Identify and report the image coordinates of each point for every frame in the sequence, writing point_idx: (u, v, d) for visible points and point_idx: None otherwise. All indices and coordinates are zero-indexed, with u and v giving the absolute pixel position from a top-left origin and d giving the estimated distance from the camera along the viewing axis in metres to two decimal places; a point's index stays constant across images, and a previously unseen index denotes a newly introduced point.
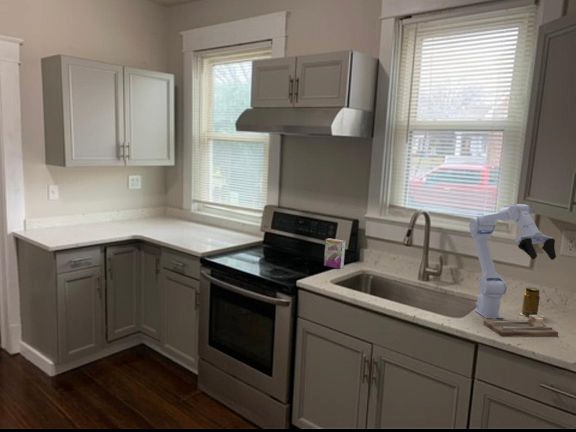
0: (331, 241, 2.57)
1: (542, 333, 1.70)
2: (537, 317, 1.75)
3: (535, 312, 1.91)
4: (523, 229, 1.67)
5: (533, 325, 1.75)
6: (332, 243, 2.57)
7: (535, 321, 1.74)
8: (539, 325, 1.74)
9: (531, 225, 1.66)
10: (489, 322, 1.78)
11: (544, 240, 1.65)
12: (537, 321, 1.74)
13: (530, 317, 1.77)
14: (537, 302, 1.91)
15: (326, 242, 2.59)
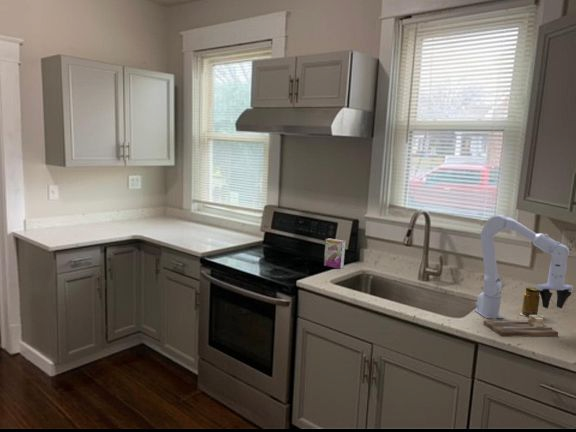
0: (331, 241, 2.57)
1: (542, 333, 1.70)
2: (537, 317, 1.75)
3: (535, 312, 1.91)
4: (551, 276, 1.74)
5: (533, 325, 1.75)
6: (332, 243, 2.57)
7: (535, 321, 1.74)
8: (539, 325, 1.74)
9: (560, 277, 1.72)
10: (489, 322, 1.78)
11: None
12: (537, 321, 1.74)
13: (530, 317, 1.77)
14: (537, 302, 1.91)
15: (326, 242, 2.59)
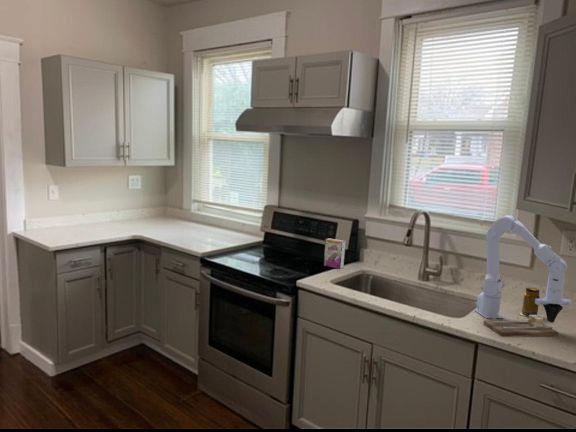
0: (331, 241, 2.57)
1: (542, 333, 1.70)
2: (537, 317, 1.75)
3: (535, 312, 1.91)
4: (549, 291, 1.74)
5: (533, 325, 1.75)
6: (332, 243, 2.57)
7: (535, 321, 1.74)
8: (539, 325, 1.74)
9: (558, 292, 1.73)
10: (489, 322, 1.78)
11: None
12: (537, 321, 1.74)
13: (530, 317, 1.77)
14: None
15: (326, 242, 2.59)
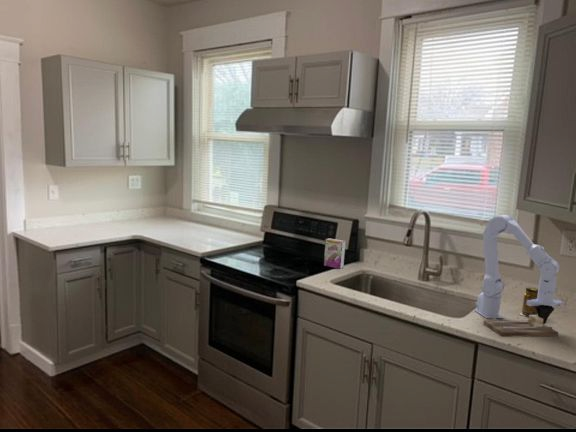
0: (331, 241, 2.57)
1: (542, 333, 1.70)
2: (537, 317, 1.75)
3: (535, 312, 1.91)
4: (540, 292, 1.74)
5: (533, 325, 1.75)
6: (332, 243, 2.57)
7: (535, 321, 1.74)
8: (539, 325, 1.74)
9: (549, 293, 1.72)
10: (489, 322, 1.78)
11: None
12: (537, 321, 1.74)
13: (530, 317, 1.77)
14: None
15: (326, 242, 2.59)
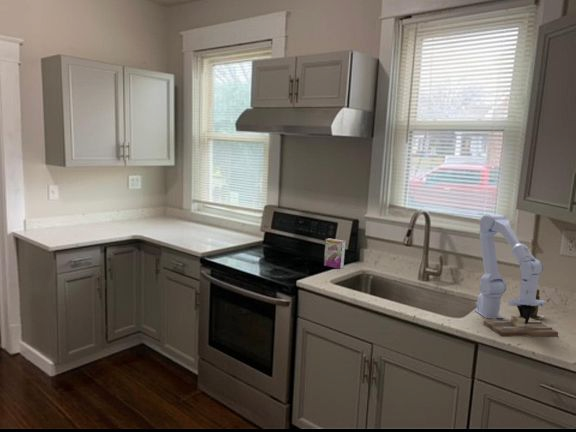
0: (331, 241, 2.57)
1: (542, 333, 1.70)
2: (519, 317, 1.74)
3: (535, 312, 1.91)
4: (522, 292, 1.73)
5: (515, 325, 1.74)
6: (332, 243, 2.57)
7: (517, 321, 1.73)
8: (521, 325, 1.73)
9: (531, 293, 1.71)
10: (489, 322, 1.78)
11: None
12: (519, 321, 1.73)
13: (512, 317, 1.76)
14: None
15: (326, 242, 2.59)
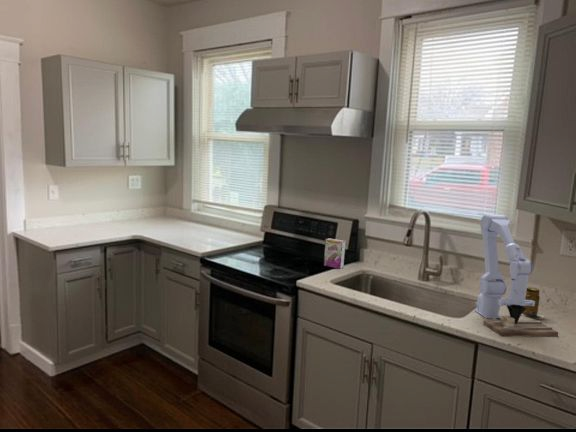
0: (331, 241, 2.57)
1: (542, 333, 1.70)
2: (509, 317, 1.74)
3: (535, 312, 1.91)
4: (512, 292, 1.72)
5: (505, 325, 1.73)
6: (332, 243, 2.57)
7: (506, 321, 1.72)
8: (511, 325, 1.72)
9: (520, 293, 1.70)
10: (489, 322, 1.78)
11: None
12: (508, 321, 1.72)
13: (502, 317, 1.75)
14: (537, 302, 1.91)
15: (326, 242, 2.59)
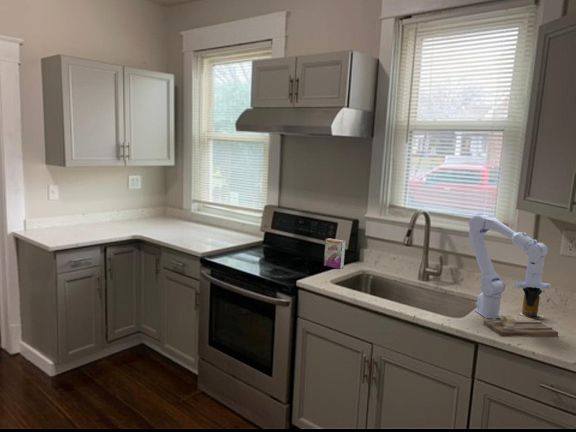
0: (331, 241, 2.57)
1: (542, 333, 1.70)
2: (509, 317, 1.74)
3: (535, 312, 1.91)
4: (528, 274, 1.75)
5: (505, 325, 1.73)
6: (331, 243, 2.57)
7: (506, 321, 1.72)
8: (511, 325, 1.72)
9: (537, 275, 1.73)
10: (489, 322, 1.78)
11: (541, 286, 1.76)
12: (508, 321, 1.72)
13: (502, 317, 1.75)
14: (537, 302, 1.91)
15: (326, 242, 2.59)
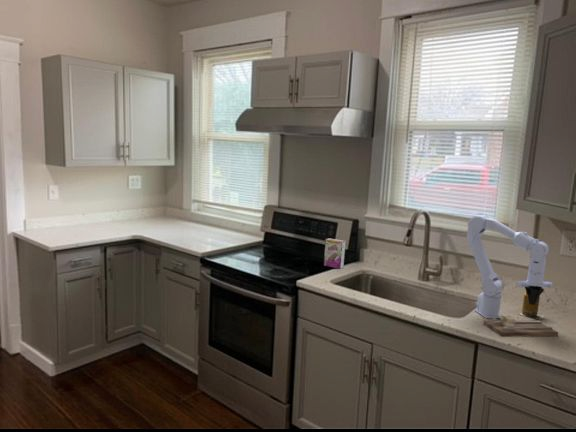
0: (331, 241, 2.57)
1: (542, 333, 1.70)
2: (509, 317, 1.74)
3: (535, 312, 1.91)
4: (530, 273, 1.77)
5: (505, 325, 1.73)
6: (332, 243, 2.57)
7: (506, 321, 1.72)
8: (511, 325, 1.72)
9: (539, 274, 1.75)
10: (489, 322, 1.78)
11: (543, 285, 1.78)
12: (508, 321, 1.72)
13: (502, 317, 1.75)
14: (537, 302, 1.91)
15: (326, 242, 2.59)
